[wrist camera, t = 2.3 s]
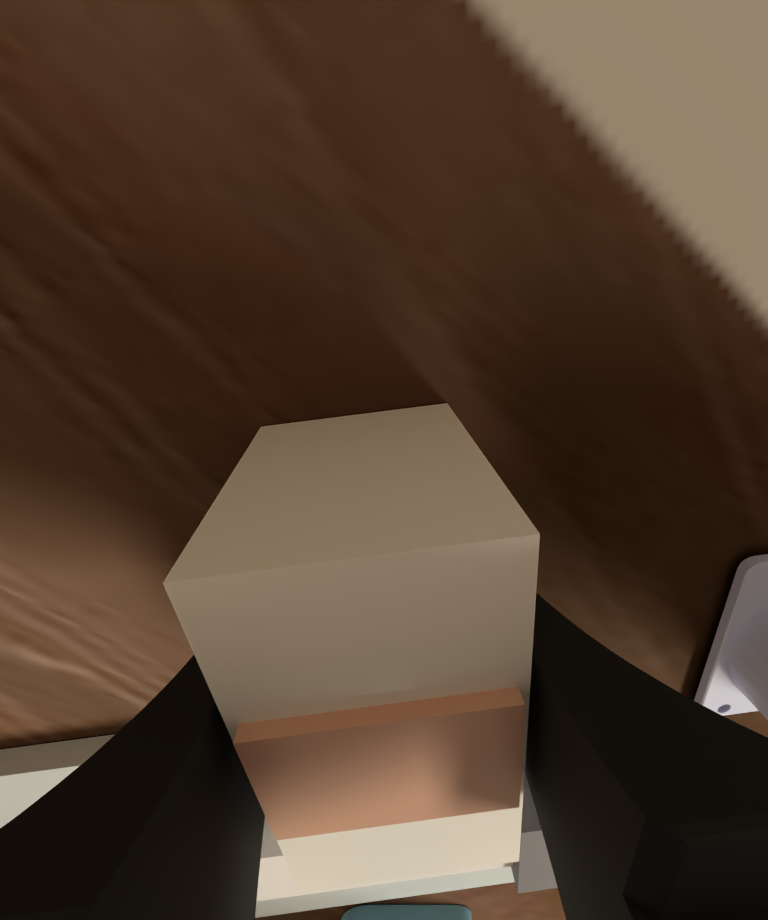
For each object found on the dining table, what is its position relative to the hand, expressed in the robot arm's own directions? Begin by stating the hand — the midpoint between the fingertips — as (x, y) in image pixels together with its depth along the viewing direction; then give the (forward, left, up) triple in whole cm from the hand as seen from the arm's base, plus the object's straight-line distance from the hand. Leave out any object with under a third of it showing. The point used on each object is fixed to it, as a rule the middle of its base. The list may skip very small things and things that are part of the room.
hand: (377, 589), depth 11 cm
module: (0, 0, -2) cm, 2 cm away
